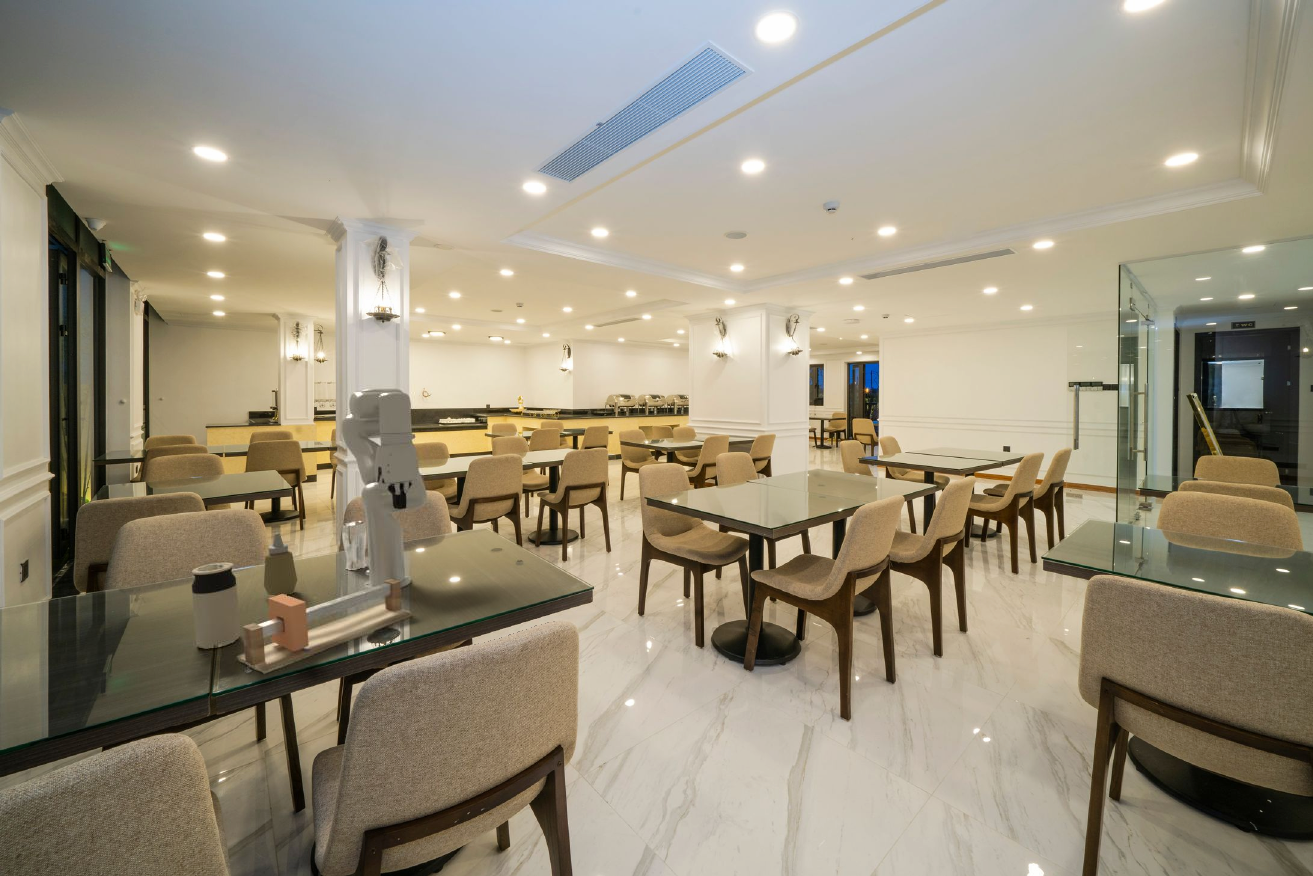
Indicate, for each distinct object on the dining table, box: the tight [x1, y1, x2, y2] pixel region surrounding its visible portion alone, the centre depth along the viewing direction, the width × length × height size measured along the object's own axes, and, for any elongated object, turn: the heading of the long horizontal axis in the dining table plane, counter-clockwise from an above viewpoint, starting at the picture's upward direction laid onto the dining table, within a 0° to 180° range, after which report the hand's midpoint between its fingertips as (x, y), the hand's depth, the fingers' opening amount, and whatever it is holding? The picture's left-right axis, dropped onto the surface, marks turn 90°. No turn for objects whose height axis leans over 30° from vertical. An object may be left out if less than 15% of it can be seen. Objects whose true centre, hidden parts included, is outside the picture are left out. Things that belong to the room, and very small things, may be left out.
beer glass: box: [341, 520, 368, 571], centre depth 182 cm, size 7×7×15 cm
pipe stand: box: [236, 579, 412, 671], centre depth 130 cm, size 12×34×8 cm, turn 149°
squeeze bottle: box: [263, 532, 298, 596], centre depth 158 cm, size 8×8×18 cm
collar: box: [267, 594, 309, 651], centre depth 122 cm, size 10×3×10 cm, turn 59°
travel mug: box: [191, 562, 241, 646], centre depth 127 cm, size 8×8×18 cm
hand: (399, 508), depth 146 cm, fingers closed
